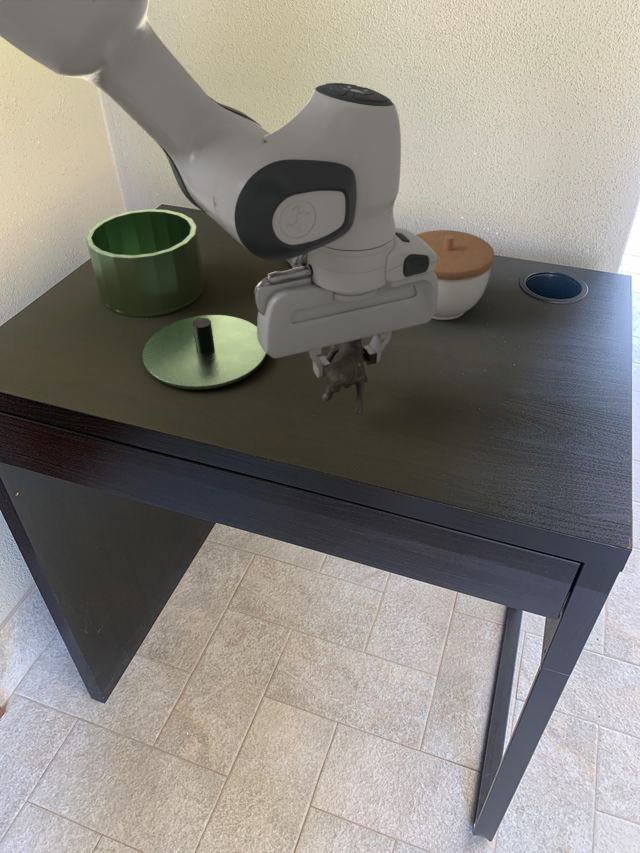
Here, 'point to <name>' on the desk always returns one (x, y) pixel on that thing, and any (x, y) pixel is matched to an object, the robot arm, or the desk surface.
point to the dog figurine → (346, 371)
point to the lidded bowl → (459, 270)
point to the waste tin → (146, 262)
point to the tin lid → (204, 352)
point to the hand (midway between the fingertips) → (347, 367)
